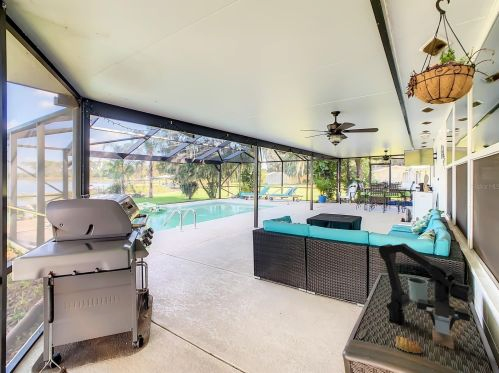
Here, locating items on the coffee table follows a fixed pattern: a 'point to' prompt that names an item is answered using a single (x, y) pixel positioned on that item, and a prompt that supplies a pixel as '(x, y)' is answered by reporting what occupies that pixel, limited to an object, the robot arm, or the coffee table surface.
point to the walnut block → (443, 339)
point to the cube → (442, 325)
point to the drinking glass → (417, 288)
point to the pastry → (407, 345)
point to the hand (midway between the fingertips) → (442, 328)
